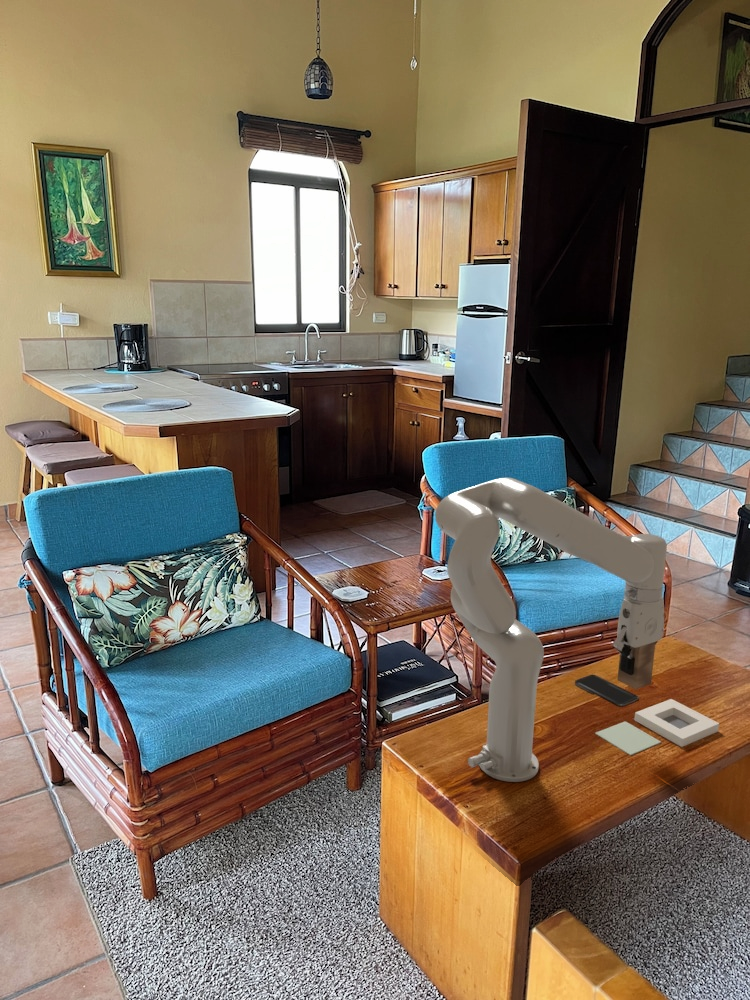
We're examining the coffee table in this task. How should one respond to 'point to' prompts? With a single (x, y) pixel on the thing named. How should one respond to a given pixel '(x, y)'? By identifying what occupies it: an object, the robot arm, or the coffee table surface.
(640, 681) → the walnut block
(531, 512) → the robot arm
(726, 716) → the coffee table surface
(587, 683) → the phone
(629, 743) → the green mat
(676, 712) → the pocket plate
